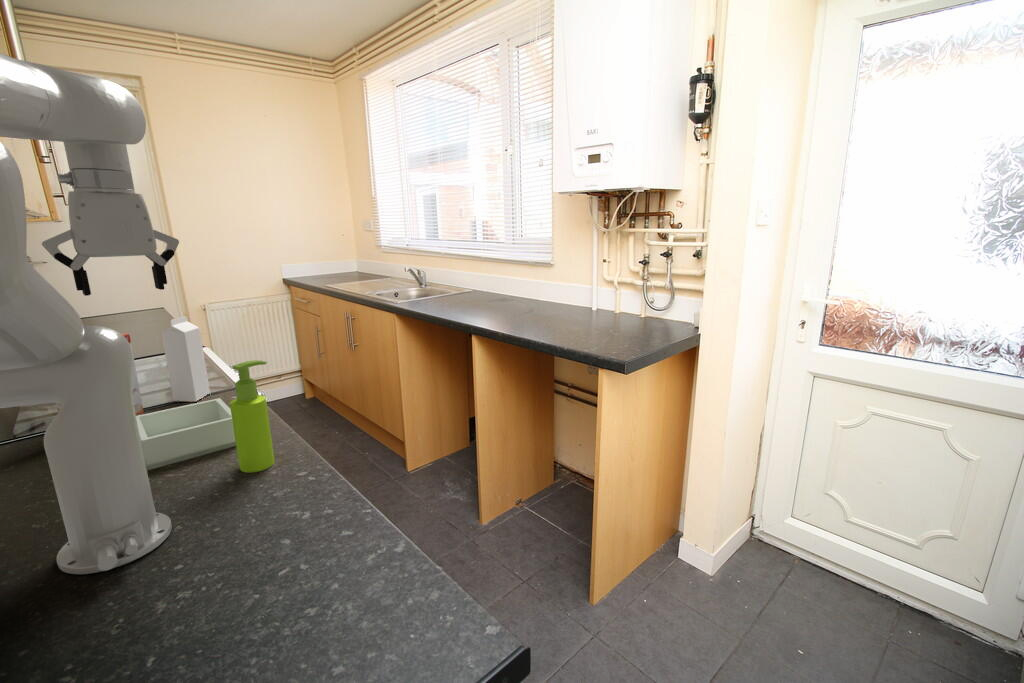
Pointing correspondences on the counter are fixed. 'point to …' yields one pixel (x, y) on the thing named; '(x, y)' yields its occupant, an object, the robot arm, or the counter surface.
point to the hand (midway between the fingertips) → (125, 291)
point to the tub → (185, 432)
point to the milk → (185, 360)
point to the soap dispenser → (251, 422)
